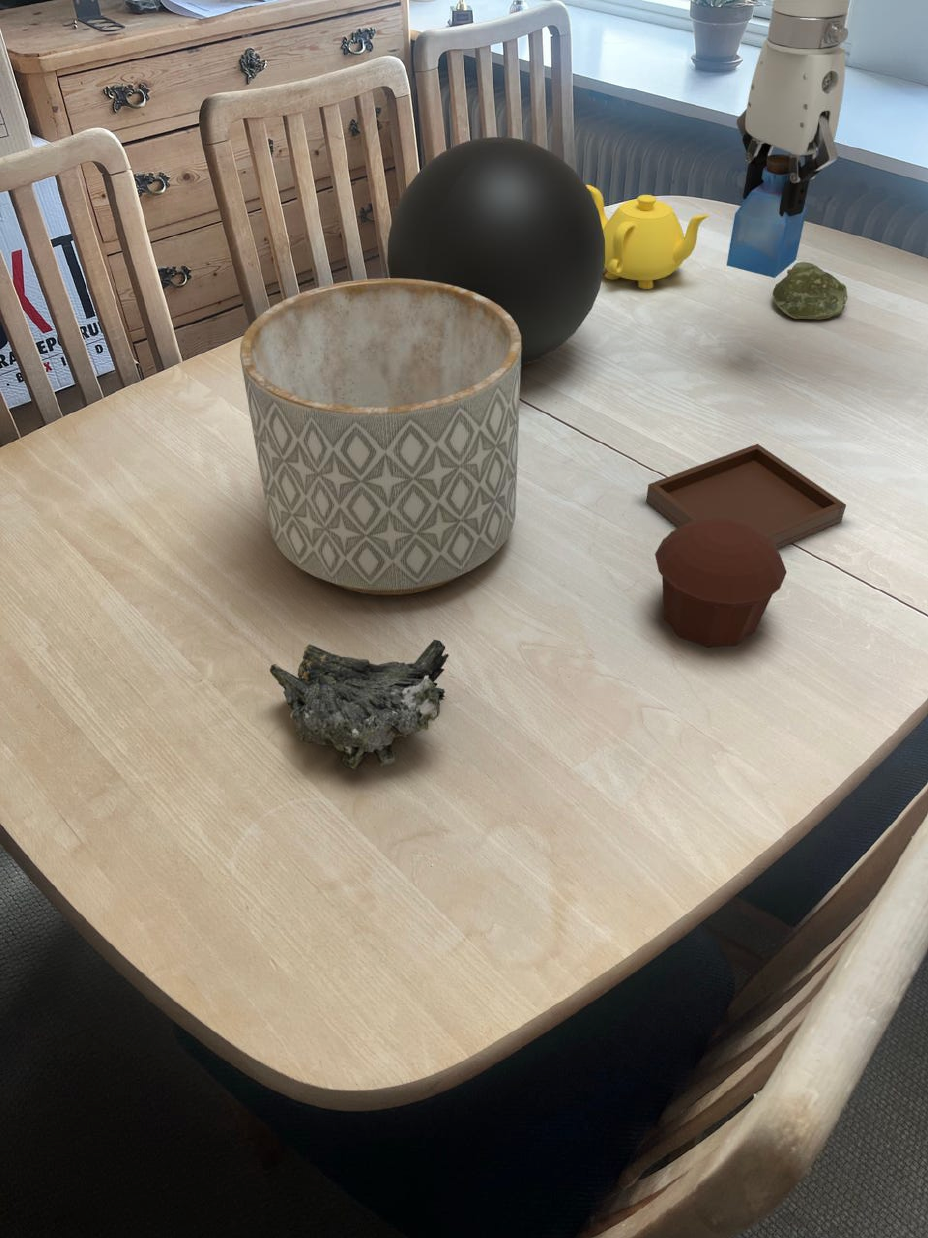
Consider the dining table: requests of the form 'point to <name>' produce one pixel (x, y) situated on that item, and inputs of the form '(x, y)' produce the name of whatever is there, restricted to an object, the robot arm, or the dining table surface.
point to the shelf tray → (748, 496)
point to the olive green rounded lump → (810, 293)
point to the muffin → (717, 579)
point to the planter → (386, 430)
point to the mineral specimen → (362, 700)
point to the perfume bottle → (766, 225)
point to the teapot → (644, 239)
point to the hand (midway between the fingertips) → (772, 204)
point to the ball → (505, 235)
